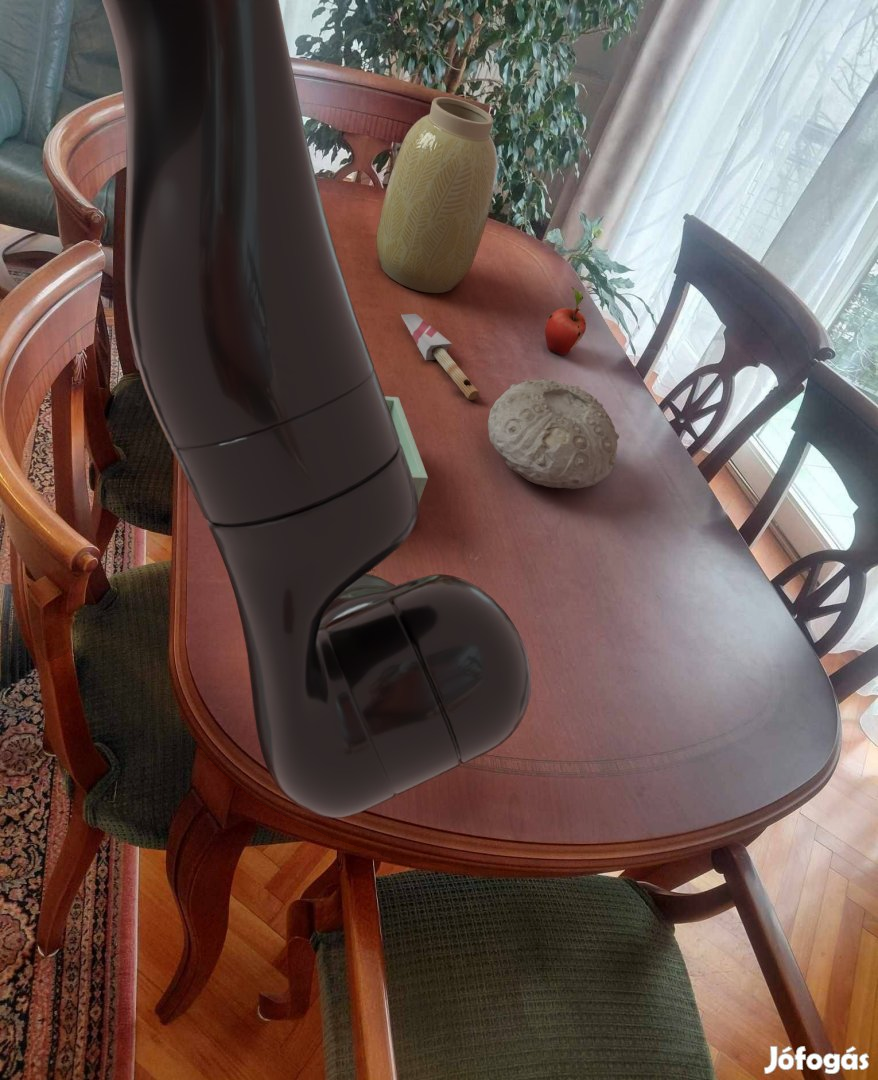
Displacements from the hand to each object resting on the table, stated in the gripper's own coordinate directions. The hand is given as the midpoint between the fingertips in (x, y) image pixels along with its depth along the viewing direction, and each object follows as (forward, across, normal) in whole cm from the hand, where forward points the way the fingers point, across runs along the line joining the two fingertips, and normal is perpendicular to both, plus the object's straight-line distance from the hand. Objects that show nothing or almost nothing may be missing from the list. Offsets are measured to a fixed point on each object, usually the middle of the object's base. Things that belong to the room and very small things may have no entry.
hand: (347, 613), depth 63 cm
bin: (+30, +2, -13) cm, 33 cm away
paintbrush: (+53, -8, -36) cm, 64 cm away
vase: (+72, -3, -54) cm, 90 cm away
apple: (+63, -28, -45) cm, 82 cm away
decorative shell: (+40, -24, -22) cm, 51 cm away
